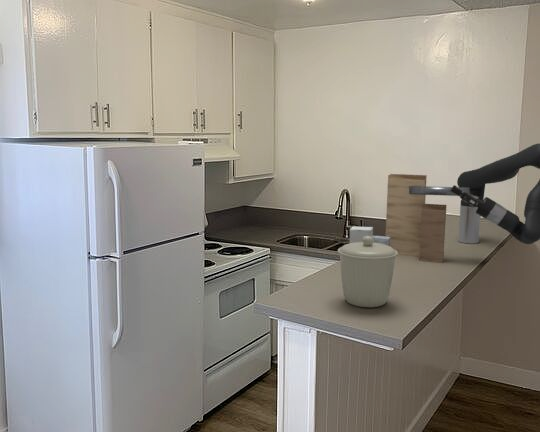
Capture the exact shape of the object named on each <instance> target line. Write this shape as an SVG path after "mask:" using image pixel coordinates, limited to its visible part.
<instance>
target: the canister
mask: <svg viewBox="0 0 540 432" xmlns="http://www.w3.org/2000/svg"><path fill="white" fill-rule="evenodd" d="M373 242H374V239H373V237H371V236H364V237H363V238H362V242H356V243H350V242H349V243H346V244H344V245H342V246H341V247H339V248H338V249H337V252H338V253H337V254H339V258H340V259H339V262H340V271H341V273H340V274H341V283H342V293H343V297H344V299H345V301H346V302H347V303H349V304H350V305H352V306H355V307H360V308H379V307H382V306H383V305H385V304H386V303H387V302H388V300H389V296H390V293H391V287H392V282H393V281H392V280H393V275H394V267H395V263H396V262H395V261H396V257H397V256H398V252H397V251H396V250H394V249H393V248H392V247H390V246H388V245H385V244H380V243H373Z"/></svg>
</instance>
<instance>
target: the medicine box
mask: <svg viewBox="0 0 540 432" xmlns="http://www.w3.org/2000/svg"><path fill="white" fill-rule="evenodd" d="M373 239H374V242H373V243H380V244H385V245H388V246H390V237H386V236H382V235H373Z"/></svg>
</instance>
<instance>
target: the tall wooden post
mask: <svg viewBox="0 0 540 432" xmlns="http://www.w3.org/2000/svg"><path fill="white" fill-rule="evenodd" d="M446 217H447V204H438V203H437V204H436V203H435V204H434V203H425V204H423V205H422V215H421V235H420V254H419V256H418V258H419V259H418V261H420V262H431V263H440V262H441V263H443V261H444V253H445V252H444V251H445V240H446V239H445V237H446V236H445V235H446V220H447V218H446ZM441 263H440V264H441Z"/></svg>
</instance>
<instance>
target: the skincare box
mask: <svg viewBox="0 0 540 432" xmlns="http://www.w3.org/2000/svg"><path fill="white" fill-rule="evenodd" d="M364 236H371V237H373V236H374V227H373V226H352V227H351V228H350V229H349V243H356V242H362V238H363V237H364Z"/></svg>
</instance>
